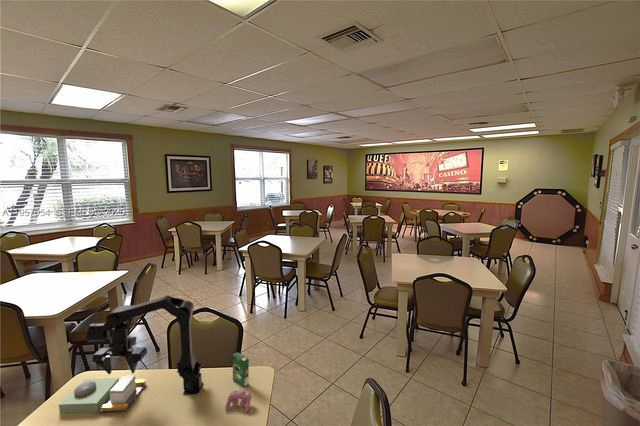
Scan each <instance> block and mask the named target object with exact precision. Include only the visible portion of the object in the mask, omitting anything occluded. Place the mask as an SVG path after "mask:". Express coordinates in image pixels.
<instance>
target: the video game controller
mask: <svg viewBox="0 0 640 426" xmlns="http://www.w3.org/2000/svg"><path fill="white" fill-rule="evenodd" d="M251 399H252V394H251V393H250V392H247V391H246V390H241V389H240V390H238V389H236V390H232V391H231V392H230V393H229V394H228V396H227V399H226V402H225V406H224V407H225V408H224V409H225V411H228V410H229V408H230V406H231V404H232V406H233V407H236V406H238V404H239V406H240V407H242V408H243V407H245V408H244V412H245V413H248V412H249V410H250V406H251ZM239 400H241V401H239Z"/></svg>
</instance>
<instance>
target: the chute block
mask: <svg viewBox="0 0 640 426" xmlns="http://www.w3.org/2000/svg"><path fill="white" fill-rule="evenodd" d="M136 380H137V379H136V375H133V374H132V375H122V376H121V377H120V378H119V381H118V382H117V383H116V385H115V386H114V387H113V388H112V389H111V390H110V398H109V399H110V402H111V404H124V403H125V402H126V401H127V399H128V398H129V397H130V395H131V394H132V393H133V391H134V390H135V389H136Z"/></svg>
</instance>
